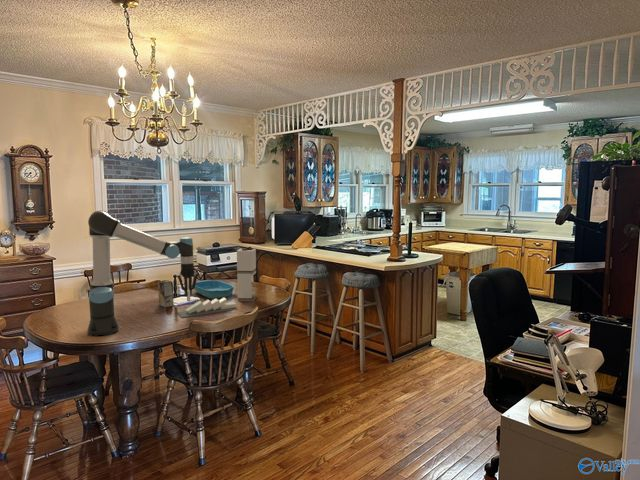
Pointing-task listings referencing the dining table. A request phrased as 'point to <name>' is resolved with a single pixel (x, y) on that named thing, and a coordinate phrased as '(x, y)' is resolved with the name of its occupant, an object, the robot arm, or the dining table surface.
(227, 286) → the casserole dish
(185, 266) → the robot arm
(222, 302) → the domino
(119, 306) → the dining table surface
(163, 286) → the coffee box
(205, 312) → the runner mat
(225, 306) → the domino
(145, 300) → the dining table surface
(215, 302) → the domino
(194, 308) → the domino
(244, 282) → the gray square tower
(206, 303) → the domino
